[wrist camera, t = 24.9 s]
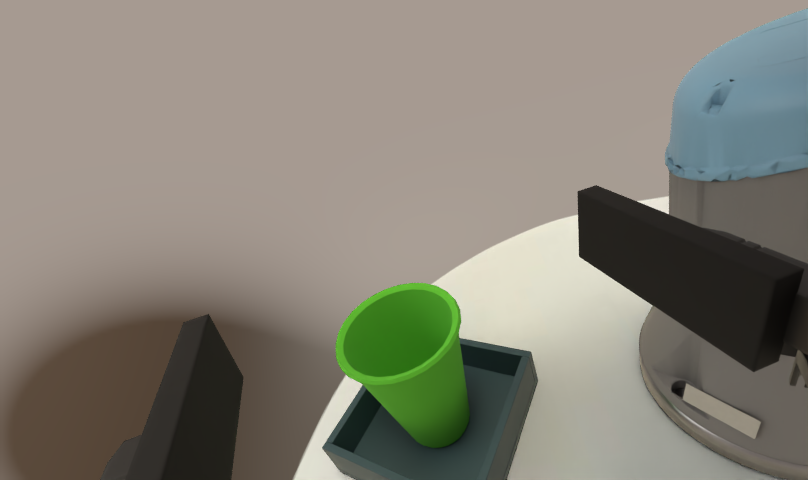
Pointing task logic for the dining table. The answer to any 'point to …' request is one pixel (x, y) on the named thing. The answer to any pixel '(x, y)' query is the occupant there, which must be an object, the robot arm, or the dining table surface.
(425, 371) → the cup
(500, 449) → the holder
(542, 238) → the dining table surface
